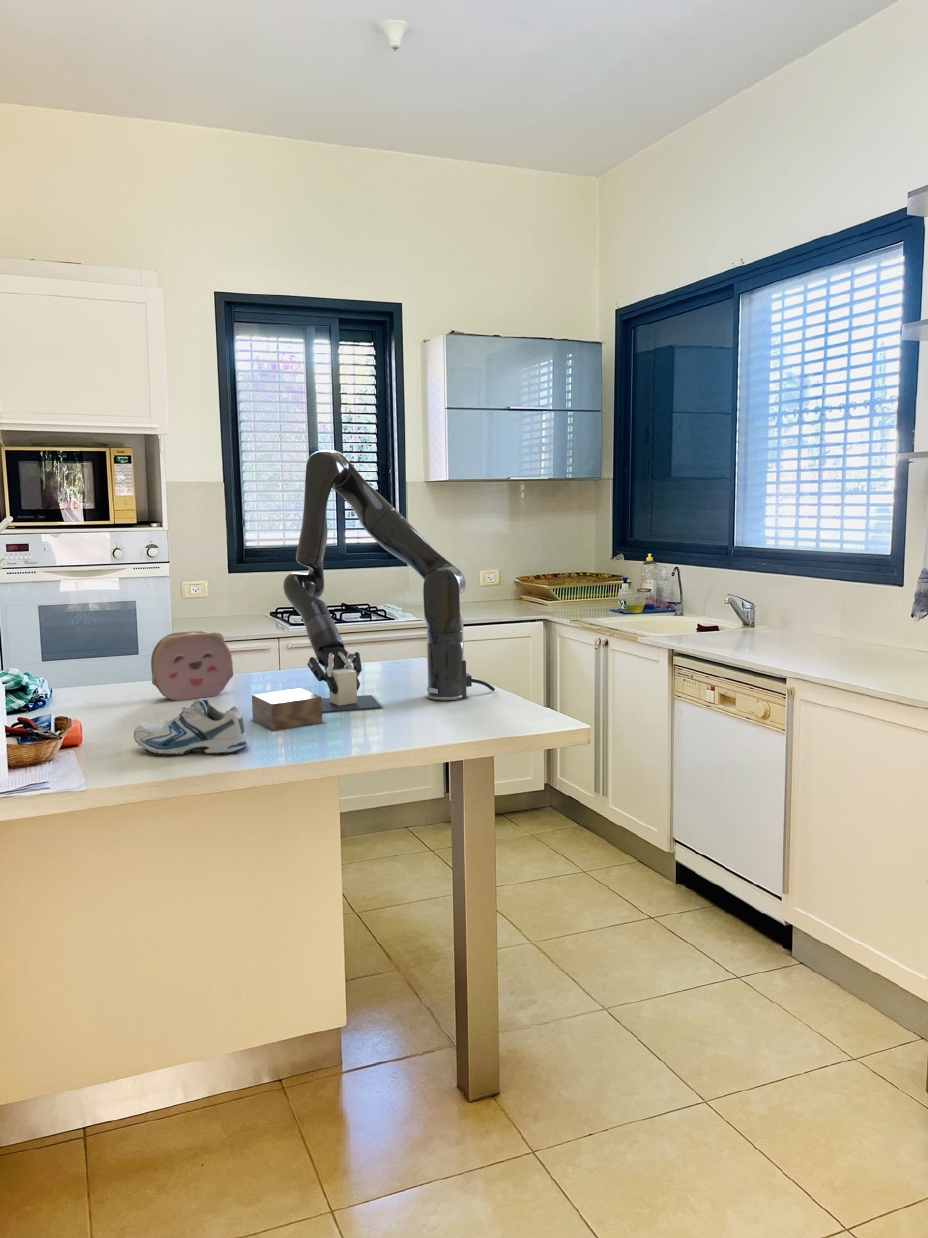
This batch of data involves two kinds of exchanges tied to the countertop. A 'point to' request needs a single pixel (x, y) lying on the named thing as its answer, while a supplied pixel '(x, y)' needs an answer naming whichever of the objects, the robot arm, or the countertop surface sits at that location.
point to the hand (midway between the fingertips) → (346, 690)
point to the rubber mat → (361, 704)
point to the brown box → (287, 709)
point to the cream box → (344, 687)
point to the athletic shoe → (195, 732)
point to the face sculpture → (191, 665)
